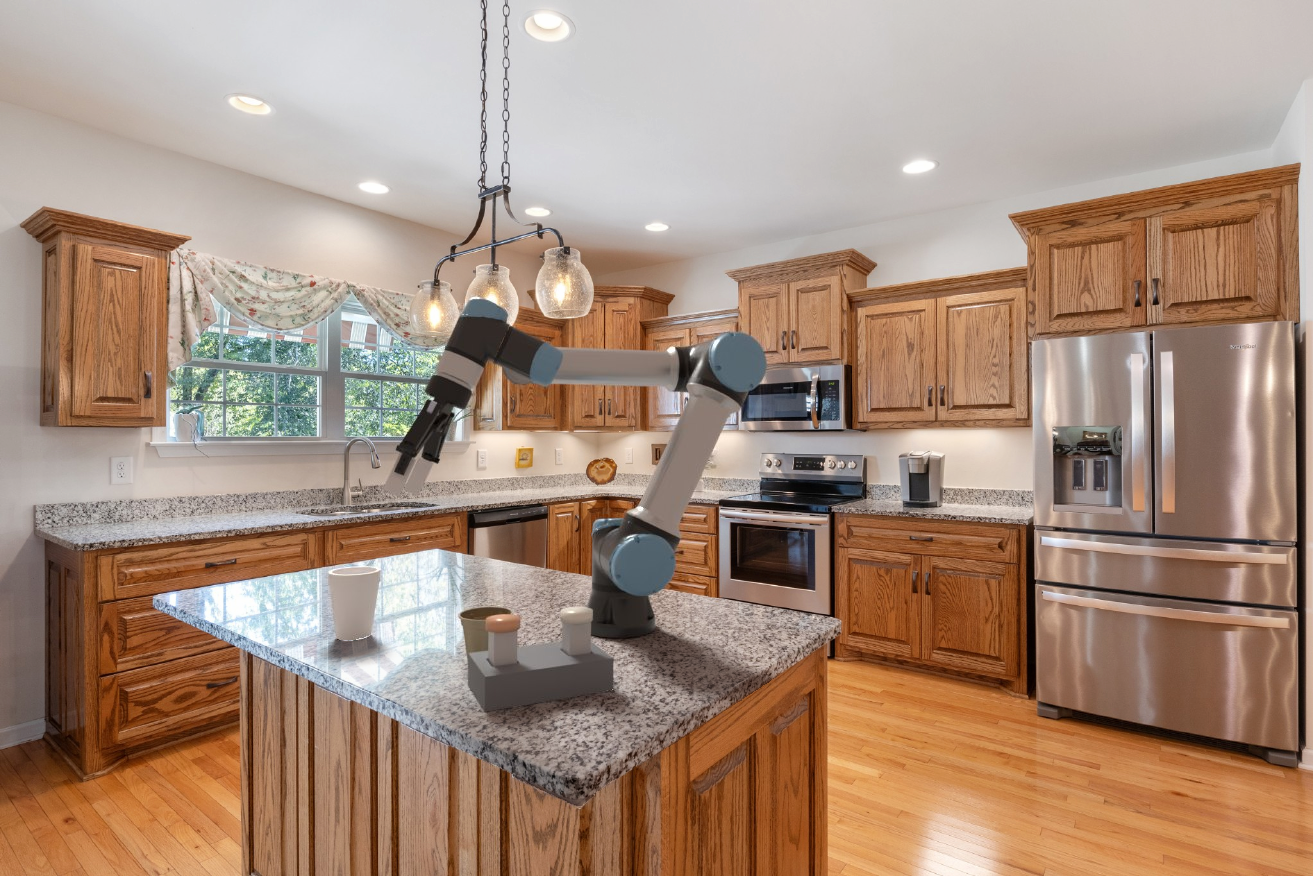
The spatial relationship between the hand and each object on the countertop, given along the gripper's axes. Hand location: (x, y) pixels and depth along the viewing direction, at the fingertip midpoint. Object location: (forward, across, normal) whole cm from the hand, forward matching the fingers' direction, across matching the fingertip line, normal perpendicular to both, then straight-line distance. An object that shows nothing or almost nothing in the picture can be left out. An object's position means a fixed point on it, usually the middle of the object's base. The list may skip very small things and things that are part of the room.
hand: (401, 492), depth 116 cm
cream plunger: (+12, +9, +38) cm, 41 cm away
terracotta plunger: (+17, +13, +28) cm, 35 cm away
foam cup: (+31, -20, -1) cm, 38 cm away
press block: (+19, +10, +34) cm, 41 cm away
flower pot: (+22, -3, +25) cm, 33 cm away
